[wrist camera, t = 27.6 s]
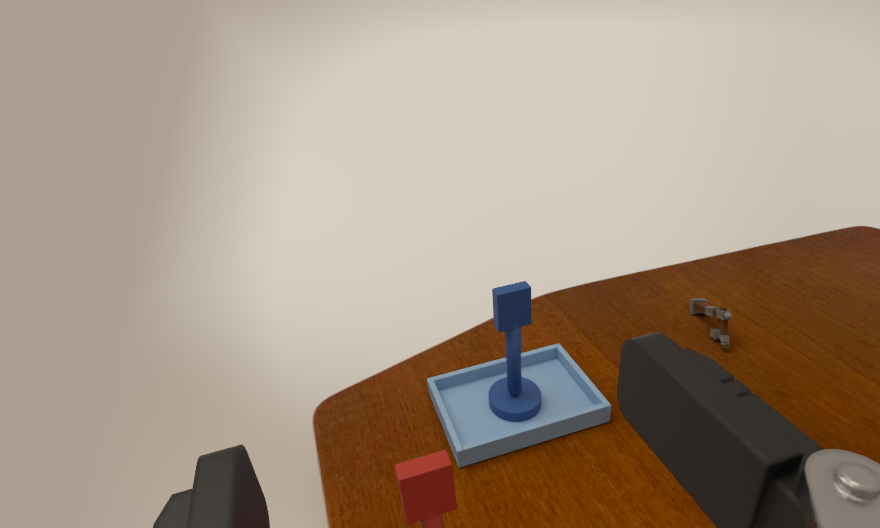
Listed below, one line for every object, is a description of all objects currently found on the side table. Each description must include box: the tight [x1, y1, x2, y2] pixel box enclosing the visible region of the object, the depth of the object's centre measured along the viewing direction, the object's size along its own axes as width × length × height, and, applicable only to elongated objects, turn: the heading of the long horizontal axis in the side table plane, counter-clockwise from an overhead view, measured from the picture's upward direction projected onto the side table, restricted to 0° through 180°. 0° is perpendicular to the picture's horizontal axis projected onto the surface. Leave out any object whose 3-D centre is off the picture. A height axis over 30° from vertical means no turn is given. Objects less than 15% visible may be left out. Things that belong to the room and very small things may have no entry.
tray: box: [427, 343, 611, 468], centre depth 51 cm, size 15×10×2 cm
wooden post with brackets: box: [690, 298, 732, 348], centre depth 58 cm, size 2×8×4 cm, turn 177°
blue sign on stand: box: [488, 281, 541, 422], centre depth 48 cm, size 5×5×14 cm
